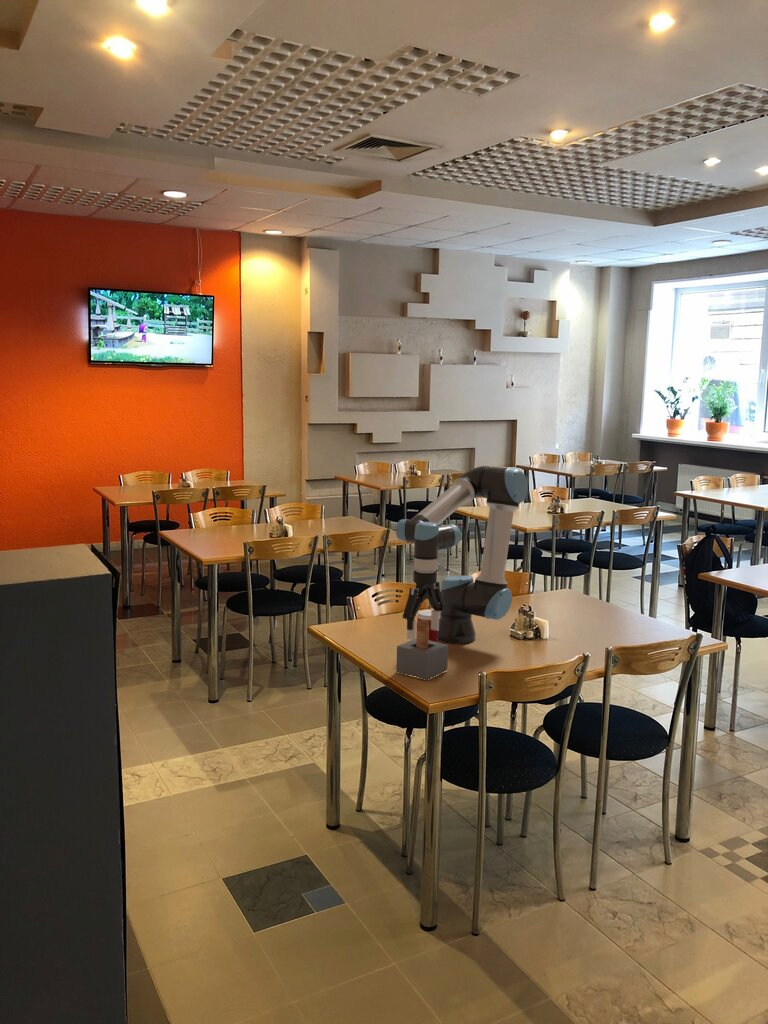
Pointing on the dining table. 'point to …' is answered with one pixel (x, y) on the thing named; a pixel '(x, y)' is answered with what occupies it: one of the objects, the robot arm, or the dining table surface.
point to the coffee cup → (427, 616)
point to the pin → (422, 634)
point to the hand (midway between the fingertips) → (423, 634)
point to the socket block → (422, 659)
